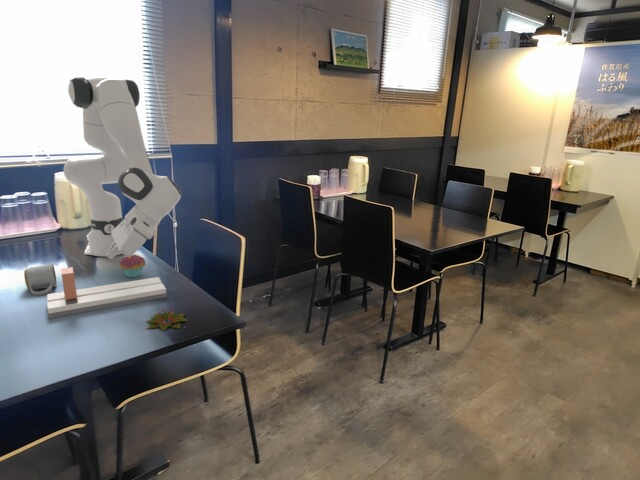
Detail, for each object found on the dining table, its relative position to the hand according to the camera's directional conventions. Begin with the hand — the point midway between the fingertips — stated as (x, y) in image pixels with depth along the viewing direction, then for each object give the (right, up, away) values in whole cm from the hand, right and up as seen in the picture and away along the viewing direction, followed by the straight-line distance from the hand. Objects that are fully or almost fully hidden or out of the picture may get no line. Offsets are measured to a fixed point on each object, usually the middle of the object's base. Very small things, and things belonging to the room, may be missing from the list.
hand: (108, 256), depth 130 cm
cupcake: (-3, -8, +24) cm, 25 cm away
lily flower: (+21, -19, -8) cm, 29 cm away
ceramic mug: (-26, -11, +10) cm, 30 cm away
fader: (-10, -13, -2) cm, 17 cm away
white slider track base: (-1, -14, +3) cm, 14 cm away
